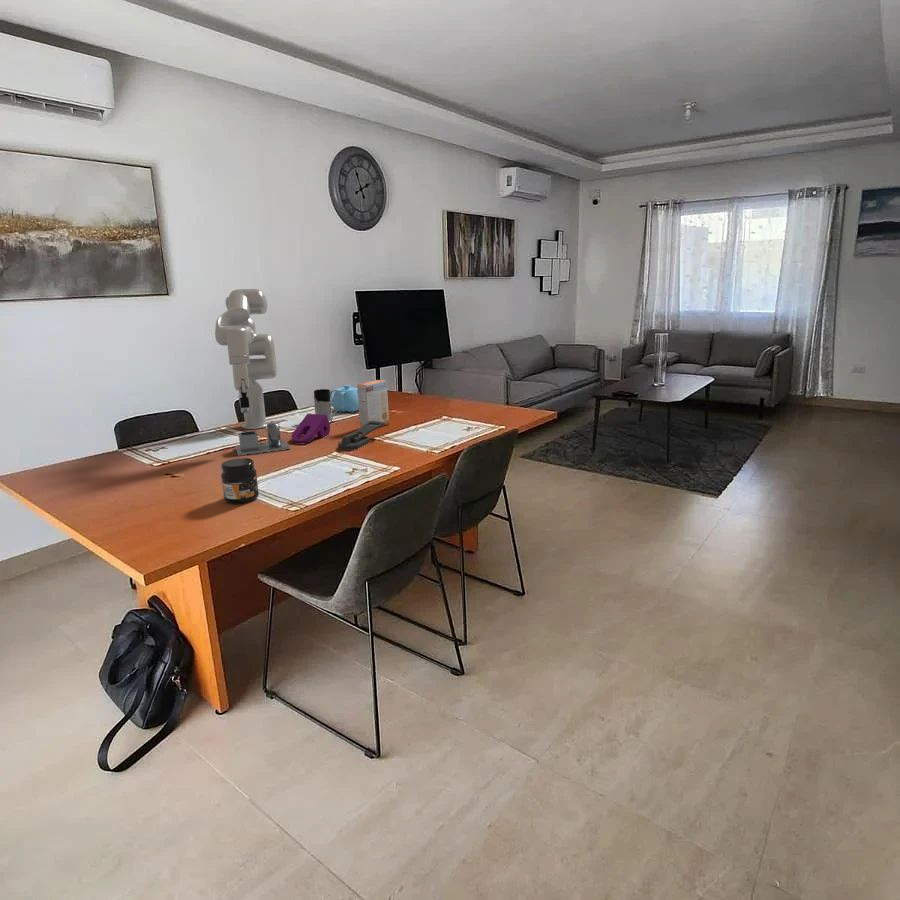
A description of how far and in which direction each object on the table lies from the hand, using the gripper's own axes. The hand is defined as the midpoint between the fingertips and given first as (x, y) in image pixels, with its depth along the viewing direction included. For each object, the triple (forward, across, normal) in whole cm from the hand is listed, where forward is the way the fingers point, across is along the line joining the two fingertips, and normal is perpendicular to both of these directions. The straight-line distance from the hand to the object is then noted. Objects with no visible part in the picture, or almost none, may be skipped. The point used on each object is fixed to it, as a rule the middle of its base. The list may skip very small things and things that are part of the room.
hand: (244, 406), depth 235 cm
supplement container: (+19, +57, -8) cm, 60 cm away
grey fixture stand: (+18, 0, +5) cm, 19 cm away
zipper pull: (+19, +8, +44) cm, 49 cm away
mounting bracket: (+19, -8, +26) cm, 33 cm away
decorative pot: (+18, -57, +55) cm, 81 cm away
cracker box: (+18, -16, +57) cm, 62 cm away
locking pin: (+2, 0, 0) cm, 2 cm away
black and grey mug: (+18, -38, +41) cm, 59 cm away
